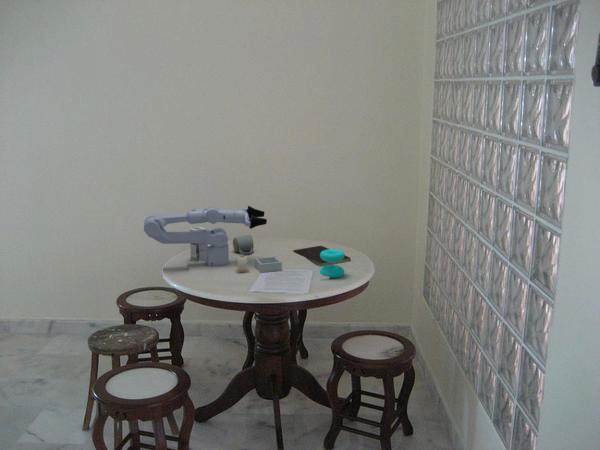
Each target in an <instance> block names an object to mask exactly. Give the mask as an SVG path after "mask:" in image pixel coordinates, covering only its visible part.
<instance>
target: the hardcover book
mask: <svg viewBox="0 0 600 450" xmlns="http://www.w3.org/2000/svg"><path fill="white" fill-rule="evenodd" d="M328 249H329V248H328V247H326V246H324V245H315V246H310V247H304V248H298V249H292V252H293V253H295V254H298V255H300V256H303V257H304V258H306V259H307V260H308V262H309V261H310V263H311V264H312V263H313V264H314V265H317V266H319V267H324V266H327V265H336V264H339V263H345V262H351V257H350V256H348V255H345V256H344V258H343V259H342V260H341V261H338V262H327V261H324V260H322V259H321V257H320V253H321V252H322V251H324V250H328Z"/></svg>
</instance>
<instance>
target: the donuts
mask: <svg viewBox="0 0 600 450" xmlns="http://www.w3.org/2000/svg"><path fill="white" fill-rule="evenodd" d="M344 256H346V255H345V253H344V252H343V250H341V249H340V250H339V249H334V248H333V249H331V248H328V250H324V251H322V252H321V253H320V257H321V259H322V260H324V261H327V262H338V261H341V260H342V259H343V258H344ZM319 274H321V275H322V276H328V278H330V279H339V278H341V277H343V276H344V274H345V270H344V268H343V267H342V266H340V265H336V264H330V265H324V266H321V268H320V269H319Z"/></svg>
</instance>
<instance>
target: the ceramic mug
mask: <svg viewBox="0 0 600 450" xmlns="http://www.w3.org/2000/svg"><path fill="white" fill-rule="evenodd" d="M232 248H233V250H234V252H235V253H240V254H241V255H244V256H250V255H251V254H252V253H253V250H254V239H253V237H252V235H251V234H244V235H240V236H236V237H233V239H232Z"/></svg>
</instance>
